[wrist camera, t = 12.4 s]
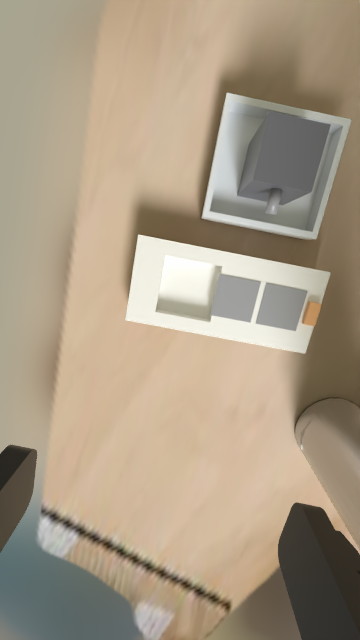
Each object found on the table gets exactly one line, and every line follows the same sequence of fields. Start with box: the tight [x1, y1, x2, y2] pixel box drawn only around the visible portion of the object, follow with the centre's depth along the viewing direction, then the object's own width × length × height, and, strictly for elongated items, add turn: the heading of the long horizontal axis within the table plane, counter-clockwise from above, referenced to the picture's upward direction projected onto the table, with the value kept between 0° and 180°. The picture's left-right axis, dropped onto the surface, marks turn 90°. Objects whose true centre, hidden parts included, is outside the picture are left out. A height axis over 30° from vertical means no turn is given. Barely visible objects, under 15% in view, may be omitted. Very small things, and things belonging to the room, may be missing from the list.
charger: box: [237, 111, 331, 215], centre depth 26 cm, size 5×7×7 cm
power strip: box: [126, 234, 331, 354], centre depth 31 cm, size 20×9×4 cm, turn 79°
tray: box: [201, 93, 352, 240], centre depth 29 cm, size 12×11×2 cm
